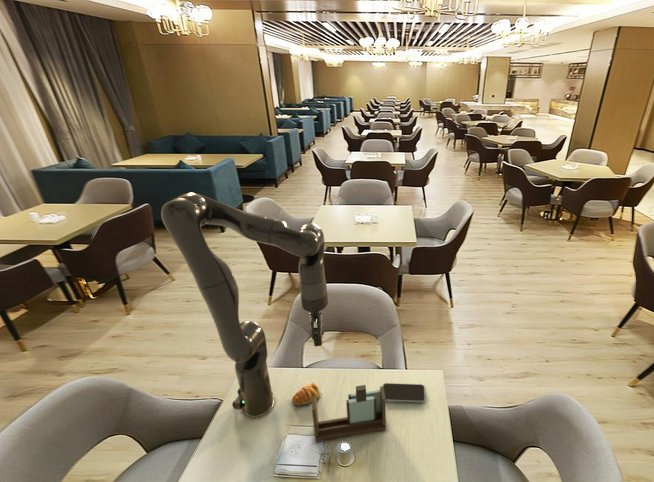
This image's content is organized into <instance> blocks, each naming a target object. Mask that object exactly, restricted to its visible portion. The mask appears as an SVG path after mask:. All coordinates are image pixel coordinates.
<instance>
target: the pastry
mask: <svg viewBox="0 0 654 482" xmlns="http://www.w3.org/2000/svg"><path fill="white" fill-rule="evenodd" d="M315 396H316V401H318V400H319V398H321V396H322V395H321V392H320V390H319V387H318V385H317V383H315V382H312V383H309V384H307V385H305V386H302V387H301V388H300V389H299V390H298V391H297V392H296V393H295V394H294V395H293V396H292V399H291V400H292V401H291V402H292V405H294V406H299V407H300V406H303V405H309V404H312V397H315Z"/></svg>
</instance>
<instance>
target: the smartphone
mask: <svg viewBox="0 0 654 482" xmlns="http://www.w3.org/2000/svg"><path fill="white" fill-rule="evenodd" d="M382 386H383V389H384V394H385V399H386V402H389V403H391V402H393V403H417V404H419V403H420V404H422V403H423V404H424V402H425V401H426V392H425V385H423V384H416V383H415V384H414V383H395V382H394V383H392V382H391V383H390V382H388V383H387V382H386V383H383V385H382Z"/></svg>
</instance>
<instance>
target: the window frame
mask: <svg viewBox="0 0 654 482" xmlns="http://www.w3.org/2000/svg"><path fill="white" fill-rule="evenodd" d="M371 396H376V416H377V420H372V421H366V422H360V423H354V424H348V419H347V416H345V417H340V418H333V419H328V420H322V421H319V413H318V405H317V400H316V396H315V397H312V402H311V413H312V414H311V415H312V422H313V431H314V437H315V438H314V439H315V443H319V442H326V441H331V440H337V439H343V438H348V437H354V436H361V435H367V434H371V433H377V432H384V431H386V430H387V425H386V424H387V423H386V421H387V420H386V414H387V413H386V411H387V409H386V408H387V407H386V406H387V405H386V404H387V403H386V402H387V401H386V399H385V394H384V389H383V385H382V386H379V389H377V390H372V391H366V397H371ZM347 397H348V398H347V400H351V399H356V393H349V394H348V395H347Z"/></svg>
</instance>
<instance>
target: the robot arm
mask: <svg viewBox="0 0 654 482" xmlns="http://www.w3.org/2000/svg"><path fill="white" fill-rule="evenodd" d="M160 215H161V220H162V223H163V225H164V227H165V229H166V230H167V232H168V234H169V235H170V237H171V238H172V241H173V242H174V243H175V245H176V247H177V248H178V250H179V252H180V253H181V256H182V257H183V259H184V260H185V263H186V264H187V267H188V268H189V270H190V272H191V274H192V277H193V279H194V281H195V284H196V286H197V288H198V290H199V292H200V294H201V296H202V298H203V300H204V302H205V304H206V306H207V309H208V310H209V313H210V315H211V318H212V320H213V322H214V325H215V328H216V330H217V335H218V337H219V341H220V343H221V346H222V349H223V351H224V353H225V354H226V355H227V357H228V358H229V359H230V360H231V361H233V362H235V363H234V370H235V375H236V380H237V383H238V387H239V388H238V389H237V395H238V396H237V397H236V398H235V400H233V401H232V403H231V405H232V407H233V409H234V410H240V411H241V410H242V412H243V413H245V415H246V416H247V417H249V418H252V419H253V418H254V419H257V418H261V417H263V416H266V415H267V414H268V413H270V411H271V410H272V409H273V407H274V405H275V400H274V393H273V390H272V385H271V380H270V375H269V369H268V365H267V359H268V346H267V340H266V339H267V338H266V334H265V332H264V330H263V328H262V327H261V325H260V324H258V323H257V322H255V321H252V320H245V321H240V318H239V306H240V305H239V304H240V303H239V302H240V293H239V286H238V283H237V281H236V277H235V275H234V274H233V272H232V269H231V268H230V266H229V265H228V263H226V261H225V260H223V259H222V258H221V257H220V256H218V255H217V254H216V253H214V252H213V251H212V249H211V248H210V246H209V244H208V243H207V241H206V238H205V236H204V233H203V231H202V227H203V226H205V225H212V226H213V225H214V226H221V227H225V228H227V229H230V230H232V231H233V232H235V233H237V234H239V235H240V236H242V237H244V238H245V239H247V240H250V241H253V242H257V243H261V244H265V245H269V246H274V247H277V248H279V249H281V250H282V251H285V252H287V253H289V254H291V255H294V256H297V257H299V258H300V259H299V261H298V277H299V293H300V301H301V307H302V309H303V310H304V311H306V312H309V313H308V319H309V327H310V330H311V340H313V345H314V347H322V346H323V340H322V336H323V333H322V328H323V326H324V325H323V318H324V313H323V312H324V309H326V308H327V307H328V304H329V298H328V285H327V279H326V273H325V271H326V270H325V265H324V256H325V234H324V231H323V230H322V228H321V227H320V226H319V225H318V224H315V223H311V222H309V223H306V224H304V225H303V226H301V227H300V228H299V230H295V229H292V228H290V227H289V224H288V223H287V222H286V221H284V220H281V219H277V218H273V217H268V216H264V215H259V214H255V213H252V212H249V211H245V210H242V209H239V208H236V207H233V206H230V205H227V204H226V203H222V202H220V201H217V200H215V199H212V198H210V197H209V196H208V197H207V196H205V195H202V194H199V193H195V192H187V193H184V194H181V195H179V196H177V197H174V198H172V199H171V200H169V201H167V202H166V203H165V204H163V205H162V207H161V211H160Z"/></svg>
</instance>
